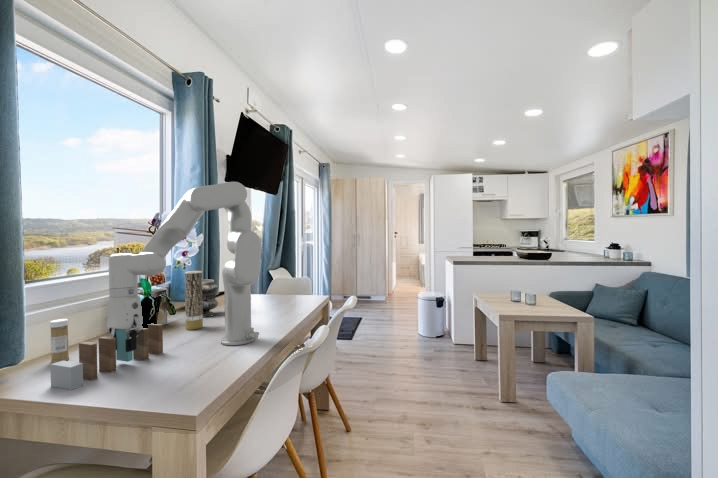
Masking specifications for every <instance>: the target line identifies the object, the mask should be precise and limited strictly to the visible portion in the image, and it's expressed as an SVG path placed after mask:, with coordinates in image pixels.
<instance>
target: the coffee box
mask: <svg viewBox="0 0 718 478" xmlns="http://www.w3.org/2000/svg"><path fill="white" fill-rule="evenodd" d="M151 290H152V292H150V294H151V296H152V297H154V298H156V297H158V296H159V295H160V294H165V295H166V296H168V295H167V289H151ZM143 292H144V291H141V292H139V295H140V294H143ZM167 298H168V297H162V298H161V304H160V309H159V315H158V320H157V324H162V326H164V325H167V324H168V302H167V300H168V299H167Z"/></svg>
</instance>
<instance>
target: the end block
mask: <svg viewBox="0 0 718 478" xmlns="http://www.w3.org/2000/svg"><path fill="white" fill-rule="evenodd" d="M49 366H50V387H53V388H58V389H63V390H69V391H72V390H76V389H78V388H80V387H83V386H84V379H83V363H79V362H75V361H70V360H66V361H59V362H56V363H50V365H49Z"/></svg>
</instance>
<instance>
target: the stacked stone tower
mask: <svg viewBox="0 0 718 478" xmlns="http://www.w3.org/2000/svg"><path fill="white" fill-rule="evenodd" d="M218 288H219V287H218V285H217V284H216V282H215V280H214V279H202V309H203V318H206V317H205V316H210V317H212V316H211V315H214V314H215V315H216V314H217V313H216V312H214V311H211V310H214V309H215V308H217V307H218V304H219V302H218V301H217V299H216V291H217V290H218ZM215 315H214V316H215Z"/></svg>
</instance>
